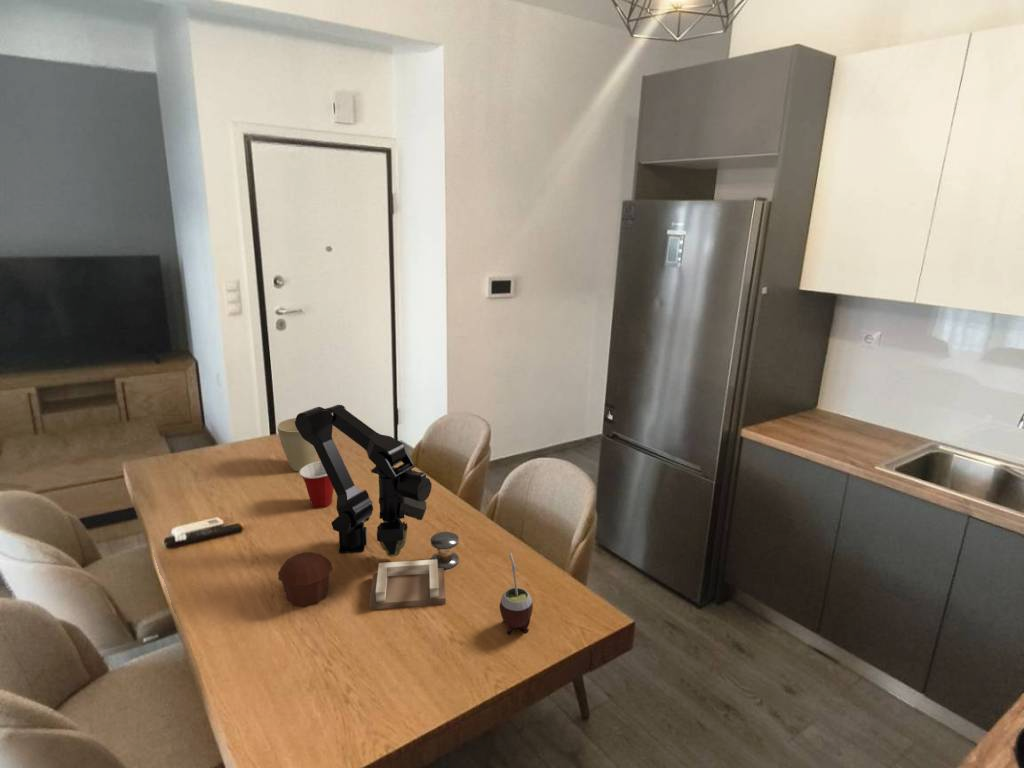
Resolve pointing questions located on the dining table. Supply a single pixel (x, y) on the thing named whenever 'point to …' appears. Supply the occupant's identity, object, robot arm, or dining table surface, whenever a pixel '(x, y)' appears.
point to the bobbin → (445, 549)
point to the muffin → (305, 578)
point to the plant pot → (295, 445)
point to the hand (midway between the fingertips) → (393, 546)
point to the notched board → (407, 584)
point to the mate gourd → (516, 606)
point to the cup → (399, 543)
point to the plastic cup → (317, 484)
